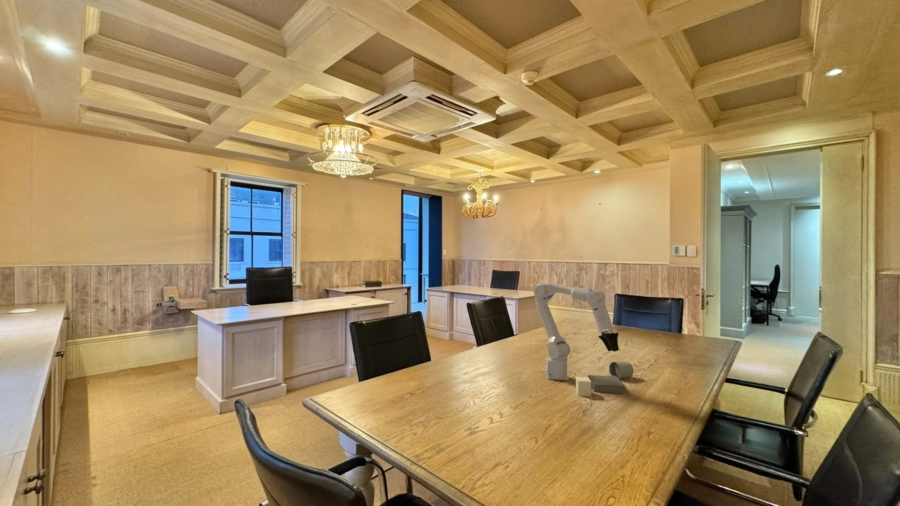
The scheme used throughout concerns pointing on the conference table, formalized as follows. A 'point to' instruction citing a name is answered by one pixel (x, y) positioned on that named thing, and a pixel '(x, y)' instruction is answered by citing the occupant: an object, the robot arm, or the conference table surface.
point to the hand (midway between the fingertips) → (613, 350)
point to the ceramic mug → (620, 369)
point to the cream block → (583, 386)
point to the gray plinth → (606, 384)
